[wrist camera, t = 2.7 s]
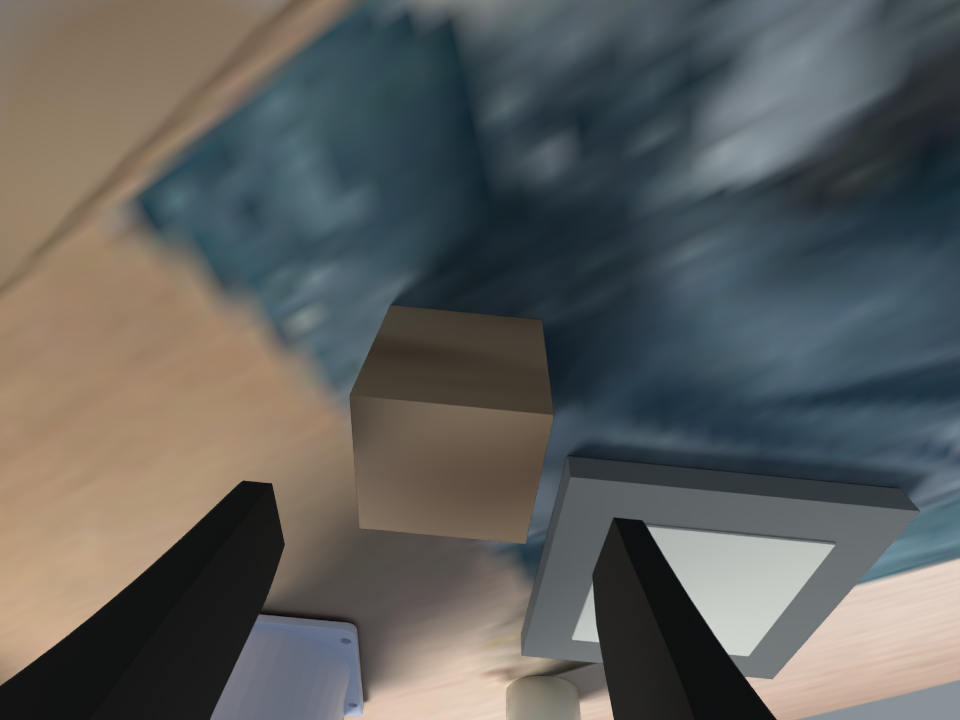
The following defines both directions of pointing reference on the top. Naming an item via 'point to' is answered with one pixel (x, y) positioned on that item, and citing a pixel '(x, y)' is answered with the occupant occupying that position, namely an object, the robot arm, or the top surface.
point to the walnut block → (451, 424)
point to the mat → (713, 553)
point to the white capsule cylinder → (542, 699)
